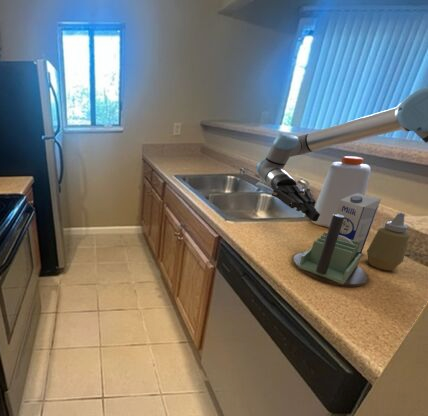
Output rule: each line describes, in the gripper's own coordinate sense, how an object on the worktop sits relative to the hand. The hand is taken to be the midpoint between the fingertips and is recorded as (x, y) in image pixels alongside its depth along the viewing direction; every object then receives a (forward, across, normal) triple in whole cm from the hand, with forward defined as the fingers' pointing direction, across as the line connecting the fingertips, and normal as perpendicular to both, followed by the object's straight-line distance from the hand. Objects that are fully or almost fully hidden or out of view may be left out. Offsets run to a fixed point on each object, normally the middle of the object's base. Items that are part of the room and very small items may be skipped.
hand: (316, 217), depth 87 cm
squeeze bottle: (+8, -19, -13) cm, 25 cm away
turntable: (+10, -2, -12) cm, 16 cm away
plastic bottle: (-25, -27, -21) cm, 42 cm away
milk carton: (-1, -15, -15) cm, 21 cm away
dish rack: (+10, -2, -11) cm, 15 cm away
